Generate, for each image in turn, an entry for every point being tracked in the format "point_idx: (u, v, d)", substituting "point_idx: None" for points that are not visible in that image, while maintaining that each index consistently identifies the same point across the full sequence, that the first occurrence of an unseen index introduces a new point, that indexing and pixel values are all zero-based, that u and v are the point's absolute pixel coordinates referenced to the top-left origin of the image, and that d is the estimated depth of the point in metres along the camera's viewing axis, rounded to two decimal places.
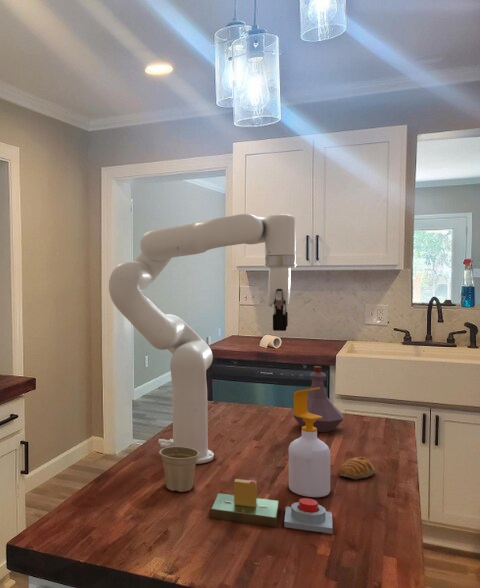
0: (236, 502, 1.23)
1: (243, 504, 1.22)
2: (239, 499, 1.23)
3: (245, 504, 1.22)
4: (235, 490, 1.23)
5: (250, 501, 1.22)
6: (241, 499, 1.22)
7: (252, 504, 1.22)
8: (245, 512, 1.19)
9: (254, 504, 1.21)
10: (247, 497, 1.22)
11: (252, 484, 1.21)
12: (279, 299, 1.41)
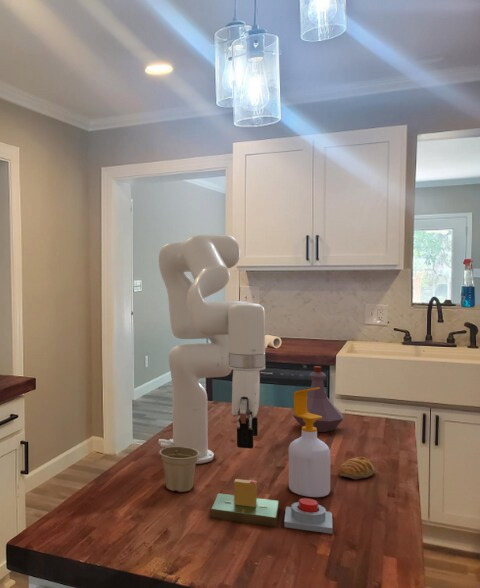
0: (236, 502, 1.23)
1: (243, 504, 1.22)
2: (239, 499, 1.23)
3: (245, 504, 1.22)
4: (235, 490, 1.23)
5: (250, 501, 1.22)
6: (241, 499, 1.22)
7: (252, 504, 1.22)
8: (245, 512, 1.19)
9: (254, 504, 1.21)
10: (247, 497, 1.22)
11: (252, 484, 1.21)
12: (243, 412, 1.15)
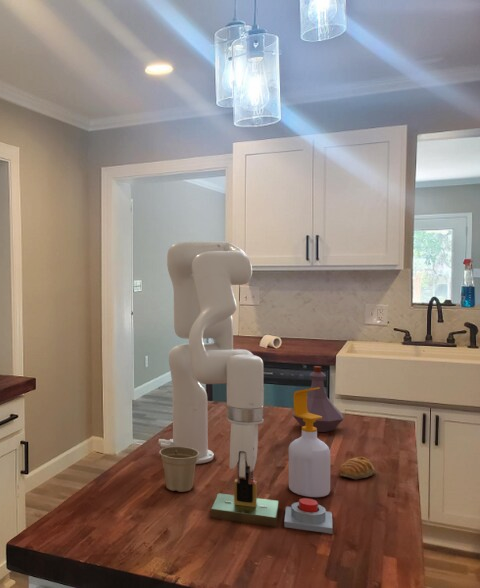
0: (236, 502, 1.23)
1: (243, 504, 1.22)
2: None
3: (245, 504, 1.22)
4: (235, 490, 1.23)
5: None
6: None
7: (252, 504, 1.22)
8: (245, 512, 1.19)
9: (254, 504, 1.21)
10: None
11: None
12: (242, 478, 1.17)
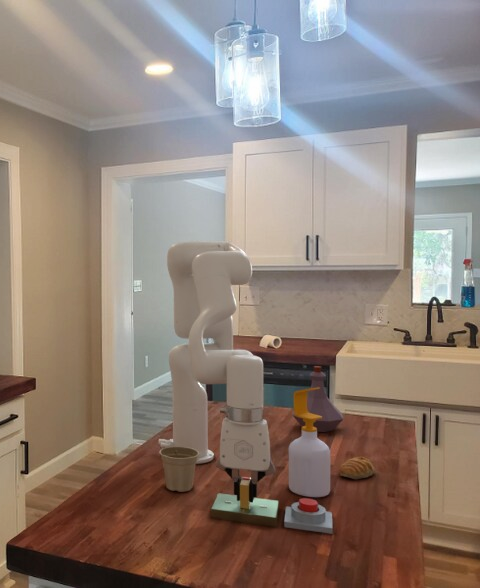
0: None
1: (249, 504, 1.22)
2: None
3: None
4: (248, 494, 1.21)
5: None
6: None
7: None
8: (245, 512, 1.19)
9: None
10: None
11: None
12: (274, 471, 1.21)
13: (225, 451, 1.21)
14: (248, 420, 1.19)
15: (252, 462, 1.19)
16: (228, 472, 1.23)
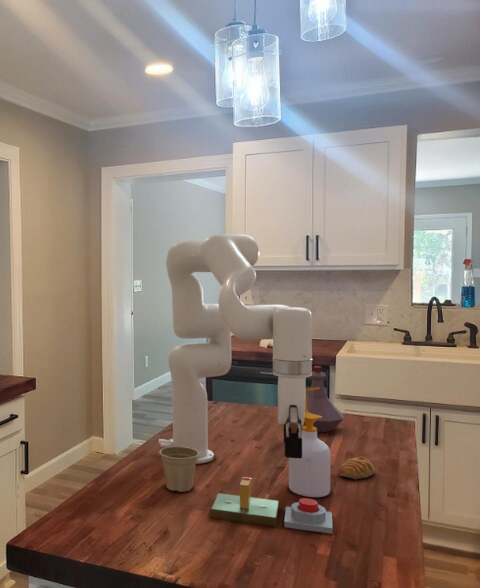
0: None
1: (249, 504, 1.22)
2: (249, 501, 1.22)
3: None
4: (248, 494, 1.21)
5: (250, 497, 1.24)
6: (249, 499, 1.22)
7: (250, 500, 1.24)
8: (245, 512, 1.19)
9: (250, 498, 1.24)
10: (250, 495, 1.23)
11: (250, 480, 1.24)
12: (295, 422, 1.10)
13: None
14: (274, 370, 1.18)
15: None
16: None
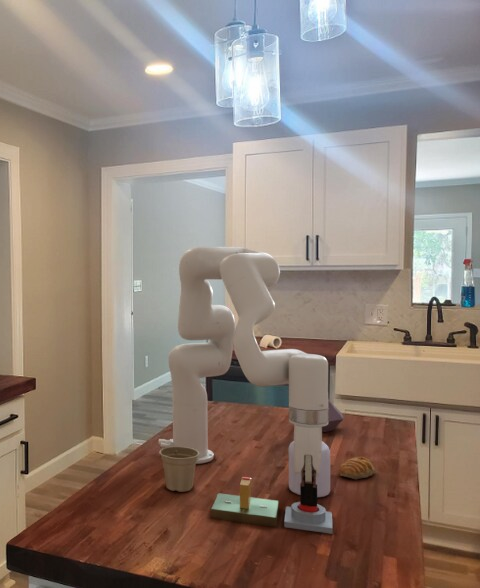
0: None
1: (249, 504, 1.22)
2: (249, 501, 1.22)
3: None
4: (248, 494, 1.21)
5: (250, 497, 1.24)
6: (249, 499, 1.22)
7: (250, 500, 1.24)
8: (245, 512, 1.19)
9: (250, 498, 1.24)
10: (250, 495, 1.23)
11: (250, 480, 1.24)
12: (309, 482, 1.13)
13: None
14: (289, 417, 1.18)
15: None
16: None
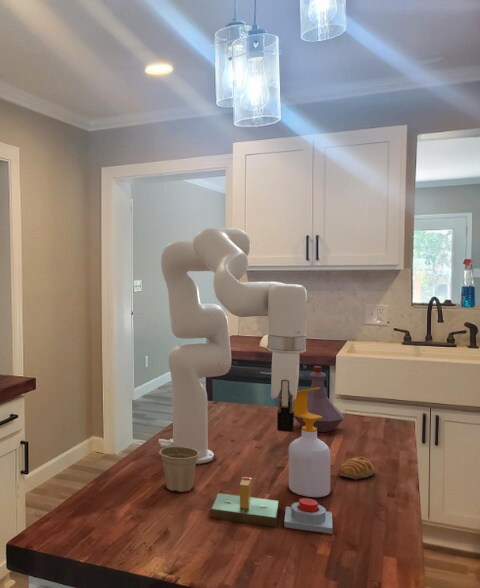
0: None
1: (249, 504, 1.22)
2: (249, 501, 1.22)
3: None
4: (248, 494, 1.21)
5: (250, 497, 1.24)
6: (249, 499, 1.22)
7: (250, 500, 1.24)
8: (245, 512, 1.19)
9: (250, 498, 1.24)
10: (250, 495, 1.23)
11: (250, 480, 1.24)
12: (285, 407, 1.16)
13: None
14: (268, 345, 1.20)
15: None
16: None
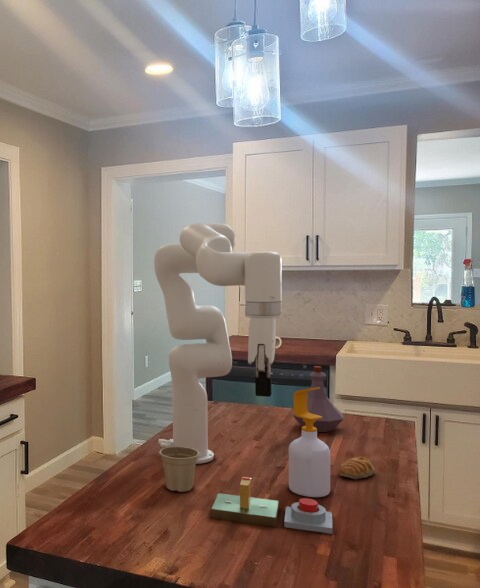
0: None
1: (249, 504, 1.22)
2: (249, 501, 1.22)
3: None
4: (248, 494, 1.21)
5: (250, 497, 1.24)
6: (249, 499, 1.22)
7: (250, 500, 1.24)
8: (245, 512, 1.19)
9: (250, 498, 1.24)
10: (250, 495, 1.23)
11: (250, 480, 1.24)
12: (262, 370, 1.18)
13: None
14: (245, 312, 1.23)
15: None
16: None
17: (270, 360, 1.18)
